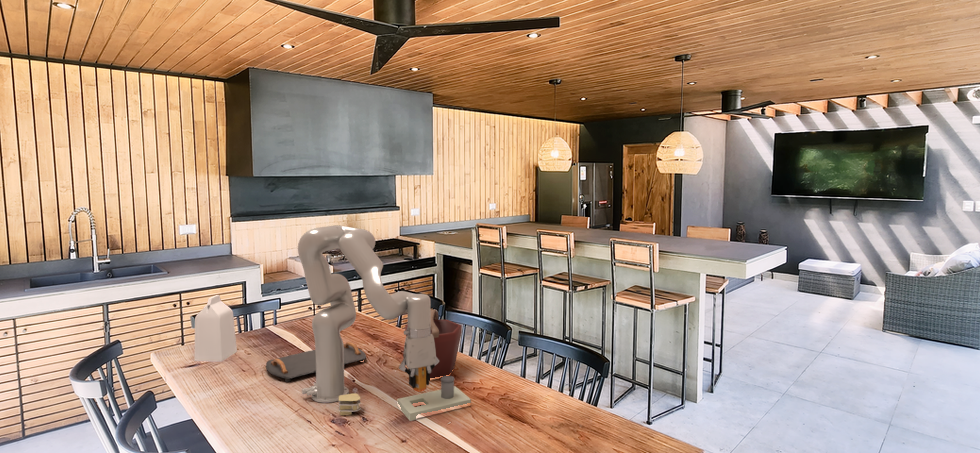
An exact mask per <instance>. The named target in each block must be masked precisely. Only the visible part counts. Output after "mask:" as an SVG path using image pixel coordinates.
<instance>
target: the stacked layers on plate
mask: <svg viewBox="0 0 980 453" xmlns="http://www.w3.org/2000/svg"><path fill="white" fill-rule="evenodd" d="M361 403H362V402H361V396H360V395H359V393H349V394H346V395H340V396H339V401H338V412H339V416H347V415H352V414H353V413H352V412H358V411H360V410H361V409H362V408H361V405H360V404H361Z"/></svg>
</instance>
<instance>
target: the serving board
mask: <svg viewBox="0 0 980 453" xmlns="http://www.w3.org/2000/svg"><path fill="white" fill-rule="evenodd" d="M343 345H344V365H347V364H351V363H354V362H359V360H360V361H363V360H365V359H367V355H366V353H365V352H364V351H363V350H362V349H360V348H359V347H358V345H356V344H355V343H353V342H351V341H347V342H346V343H343ZM265 368H266V370H267V372H268V373H270V374H271V375H273V376H275V377H279V378H281V379H284V380H285V383H291V382H292V379H293V378H298V377H301V376H305V375H308V374H314V373H316V354H315V349H311V350H307V351H303V352H299V353H295V354H290V355H286V356H283V357H277V358H274V359H269V360H267V361H266V363H265Z"/></svg>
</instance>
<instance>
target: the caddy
mask: <svg viewBox="0 0 980 453" xmlns="http://www.w3.org/2000/svg"><path fill="white" fill-rule="evenodd" d="M397 402H398V404H399V405H400V407H401V410H402V411H401V410H400V411H401V412H402V413H403V415H404V416H405V417H406V418H407V419H408V421H409V422H412V421H416V420H415V419H416V416H417V415H418V414H421V413H427V412H432V411H438V410H441V409H446V408H450V407H454V406H458V405H463V404H467V403H471V404H472V399H471V398H470V397H469V396H468V395H467V394H465V393H464V392H463V391H462V390H461V389H459V388H458V387H457V386H455V376H452V375H450V376H443V377H441V379H440V389H437V390H432V391H428V392H427V391H426V392H423V393H422V392H421V393H418V394H414V395H410V396H404V397H400V398H397V399H396V403H397ZM418 402H424V403H425V404H426V405H421V406H417V407H414V406H413V405H412V404H413V403H418Z"/></svg>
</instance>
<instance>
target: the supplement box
mask: <svg viewBox="0 0 980 453" xmlns="http://www.w3.org/2000/svg"><path fill="white" fill-rule="evenodd" d="M414 376H415V377H416V387H415V388H412V389H413V391H414V392H417V393H422V392H424V391H426V390H427V385H426V367H421V368H415V372H414Z"/></svg>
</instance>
